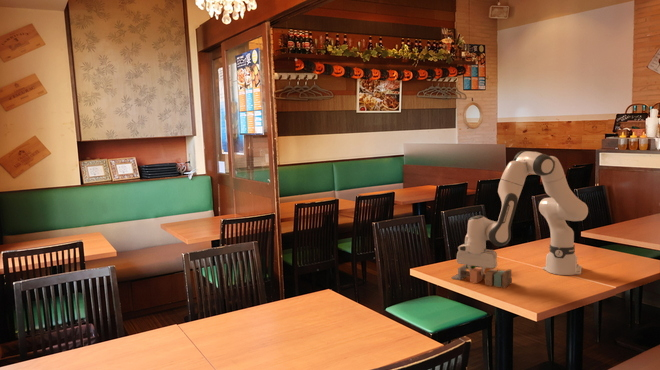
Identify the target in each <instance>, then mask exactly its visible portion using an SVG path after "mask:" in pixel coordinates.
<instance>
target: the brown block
mask: <svg viewBox="0 0 660 370" xmlns="http://www.w3.org/2000/svg"><path fill="white" fill-rule="evenodd" d="M498 271H499V270H498V269H495V268H494V269H491V268H489V270H487V271H486V272H485V271H484V274H485V279H484V285H485V286H486V285H487V286H494V274H495V273H497V272H498Z"/></svg>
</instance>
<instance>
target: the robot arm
mask: <svg viewBox="0 0 660 370" xmlns="http://www.w3.org/2000/svg"><path fill="white" fill-rule="evenodd" d="M531 174H532V175H537V176H540V179H541V181H542V185H543V188H544V192H545V193H546V194H547V196H549V197H543V198H542V199H541V200H540V202H539V204H538V211H539V212H540V214H541V215H542V216H543V217H544V219H545V220H546V222H547V225H548V227H549V232H550V244H549V247H548V248H549V252H548V253H546V259H545V266H543V267H542V270H544V271H546V272H547V273H549V274H550V273H551V274H554V275H559V276H572V275H573V276H574V275H582V267H583V266H582V265H580V264H579V263H578V256H577V255H576V251H575V250H576V246H575V244H574V243H575V242H574V241H575V231H574V230H573V228H571V227H570V226H569V225H568V224H567V222H566V221H569V222H570V221H571V222H581V221H583V220H585V219H586V218H587V216H588V214H589V207H588V205H587V204H586V202H584V201H582V200H581V199H580V198H578V196H576V194H575V193H574V192H573V191H572V190H571V188H570V186H569V184H568V181H567V178H566V174H565V171H564V168H563V166H562V164H561V162H560V160H559V159H558V158H557V157H556V156H555V155H554V156H553V155H547V154H546V153H541V152H538V151H530V150H520V151H519V152H517V153H516V154H515V156H514V158H513V160H511V161H509V162H508V163H507V165H506V167H505V169H504V171H502V175H501V178H500V181H499V183H498V188H497V193H498V196H499V198H500V201H501V209H500V213H499V216H498V220H497V221H494V220H491V219H488V217H486V216H484V215H479V214H478V215H473V216H471V217H470V218H469V219H468V221H467V230H466V231H467V233H466V235H467V234H468V241H467V244H465V243H463V244H461V245H459V246H457V249H458V251H457V253H456V263H457V264H459V265H467V267H468V268H467V269H468V271H470V270H472V269H471V266H478V267H480V268H482V269H483V270H482V271H480V275H481V276H483V275H484V274H485V271H486V269H494V270H495V269H496V267H497V266H498V261H497V258H498V253H497V251H495V250H494V249H487V247H486V246H487V245H486V243H487V241H490V243H491V244H493V246H496V247H504V246H506V245H507V244H509V242H510V241H511V237H512V231H511V230H512V229H511V227H512V223H513V220H514V216H515V213H516V209H517V206H518V202H519V198H520V196H521V193H522V190H523V187H524V185H525V182H526V178H527V176H529V175H531Z"/></svg>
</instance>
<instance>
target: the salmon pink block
mask: <svg viewBox="0 0 660 370" xmlns="http://www.w3.org/2000/svg"><path fill="white" fill-rule="evenodd" d="M482 270H483V269H482V267H475V268H474V269H472V270H470V276H469V282H470V283H473V282H474V283H475V284H478V283H480V282H481V281H482V280H484V279H483V276H481V275H480V271H482ZM474 283H473V284H474Z"/></svg>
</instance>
